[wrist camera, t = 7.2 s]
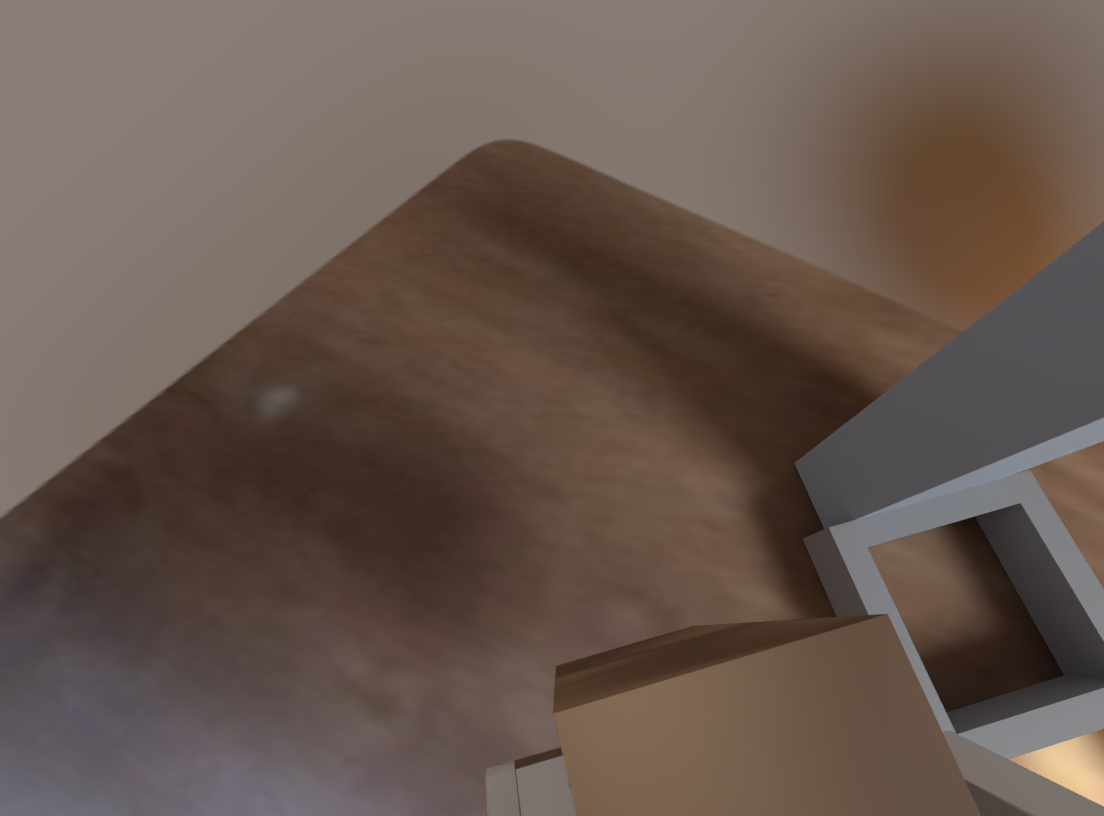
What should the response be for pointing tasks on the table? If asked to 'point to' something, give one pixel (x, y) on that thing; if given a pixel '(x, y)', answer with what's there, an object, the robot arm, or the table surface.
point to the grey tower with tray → (984, 488)
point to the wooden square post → (756, 725)
